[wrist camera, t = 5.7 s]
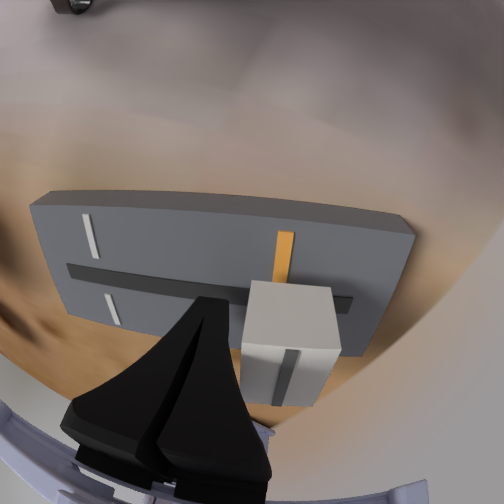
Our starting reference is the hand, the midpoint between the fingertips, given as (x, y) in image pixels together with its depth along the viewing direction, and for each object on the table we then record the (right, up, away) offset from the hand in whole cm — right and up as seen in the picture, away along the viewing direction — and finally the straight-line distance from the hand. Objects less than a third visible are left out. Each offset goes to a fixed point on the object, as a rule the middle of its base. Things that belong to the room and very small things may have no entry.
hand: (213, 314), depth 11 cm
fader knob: (+3, 0, +1) cm, 3 cm away
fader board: (-1, +2, +3) cm, 4 cm away
